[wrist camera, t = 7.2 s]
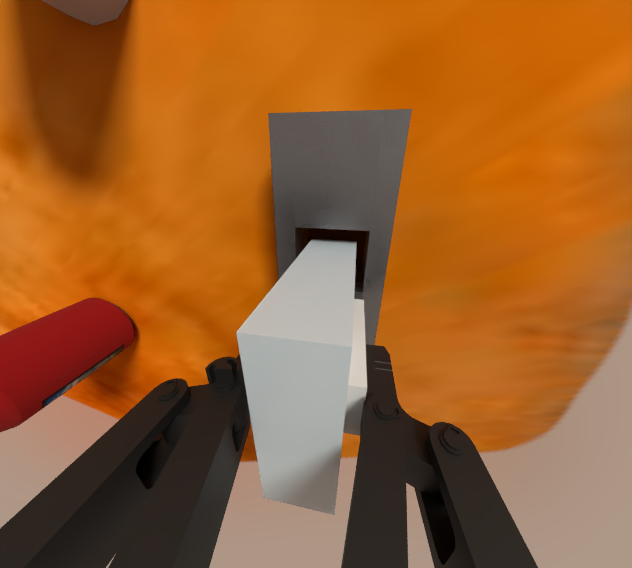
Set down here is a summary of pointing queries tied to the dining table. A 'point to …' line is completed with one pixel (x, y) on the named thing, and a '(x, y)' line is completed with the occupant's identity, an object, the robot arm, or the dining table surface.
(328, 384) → the upright white panel
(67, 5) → the cup
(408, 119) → the block with rectangular holes
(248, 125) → the dining table surface
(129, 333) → the beverage can
